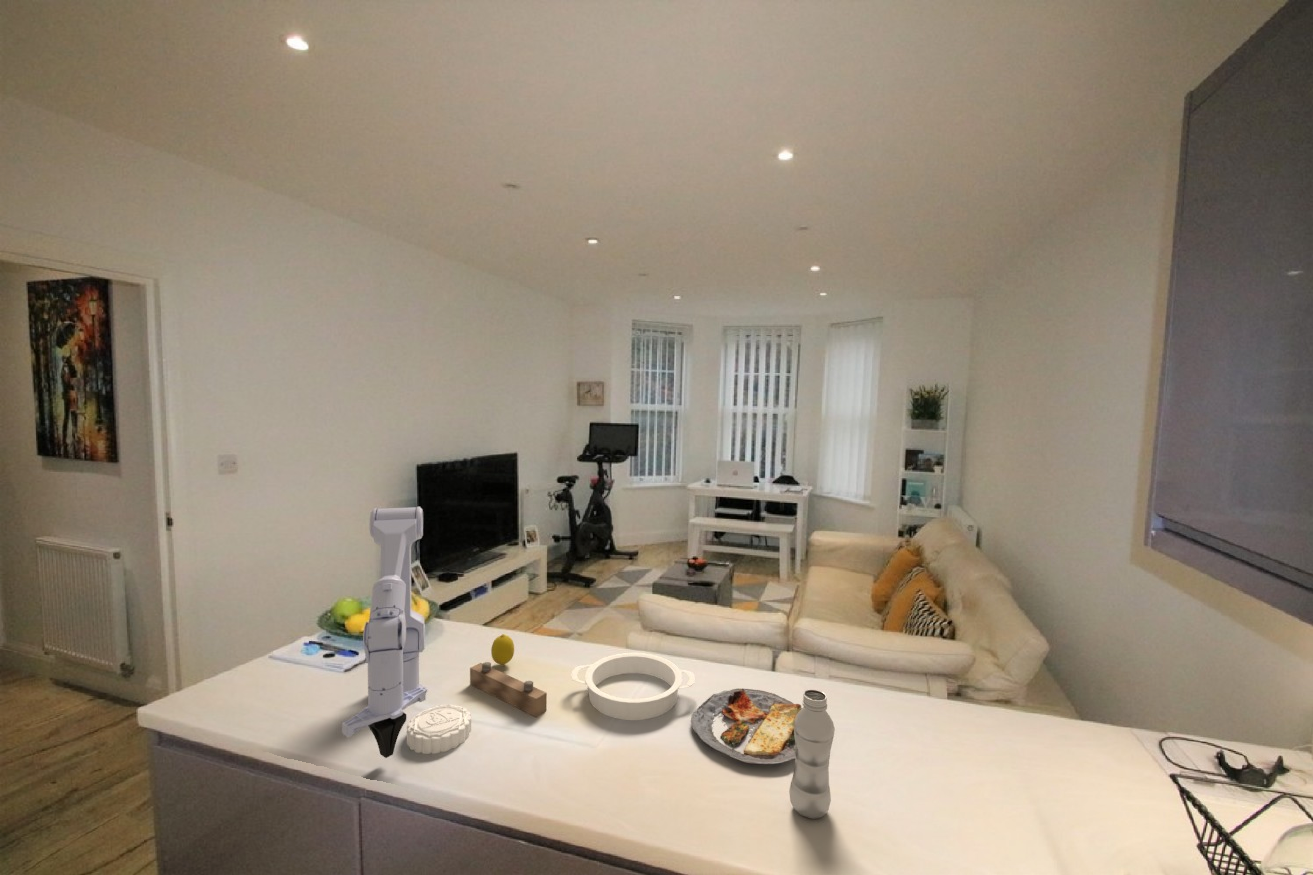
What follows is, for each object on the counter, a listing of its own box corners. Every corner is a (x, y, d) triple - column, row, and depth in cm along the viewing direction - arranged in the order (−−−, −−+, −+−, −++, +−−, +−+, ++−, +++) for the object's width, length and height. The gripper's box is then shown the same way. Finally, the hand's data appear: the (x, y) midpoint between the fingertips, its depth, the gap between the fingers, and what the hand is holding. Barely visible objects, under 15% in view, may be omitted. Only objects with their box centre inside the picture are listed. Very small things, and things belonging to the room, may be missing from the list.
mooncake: (463, 712, 117) (463, 696, 117) (478, 742, 107) (478, 725, 107) (402, 729, 110) (402, 712, 110) (411, 763, 100) (411, 744, 100)
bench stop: (470, 684, 128) (470, 661, 127) (480, 678, 130) (480, 656, 130) (536, 716, 115) (536, 691, 115) (546, 710, 118) (546, 685, 117)
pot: (560, 720, 115) (560, 698, 115) (580, 668, 137) (580, 649, 137) (695, 728, 113) (696, 706, 113) (694, 674, 136) (694, 655, 135)
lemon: (507, 672, 134) (508, 640, 133) (487, 669, 135) (487, 637, 134) (517, 661, 139) (518, 631, 138) (497, 659, 140) (498, 628, 140)
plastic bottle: (783, 796, 94) (788, 685, 93) (821, 795, 95) (827, 684, 93) (796, 825, 88) (801, 706, 86) (836, 824, 88) (843, 705, 87)
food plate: (730, 685, 130) (731, 671, 130) (827, 722, 117) (828, 706, 116) (672, 740, 110) (672, 724, 109) (781, 792, 96) (782, 774, 96)
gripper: (356, 708, 90) (357, 786, 91) (435, 672, 102) (435, 741, 103) (335, 694, 94) (336, 769, 95) (413, 661, 106) (413, 728, 107)
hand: (386, 754), depth 100 cm, fingers closed
